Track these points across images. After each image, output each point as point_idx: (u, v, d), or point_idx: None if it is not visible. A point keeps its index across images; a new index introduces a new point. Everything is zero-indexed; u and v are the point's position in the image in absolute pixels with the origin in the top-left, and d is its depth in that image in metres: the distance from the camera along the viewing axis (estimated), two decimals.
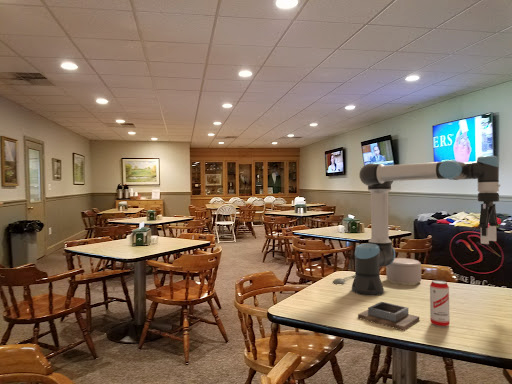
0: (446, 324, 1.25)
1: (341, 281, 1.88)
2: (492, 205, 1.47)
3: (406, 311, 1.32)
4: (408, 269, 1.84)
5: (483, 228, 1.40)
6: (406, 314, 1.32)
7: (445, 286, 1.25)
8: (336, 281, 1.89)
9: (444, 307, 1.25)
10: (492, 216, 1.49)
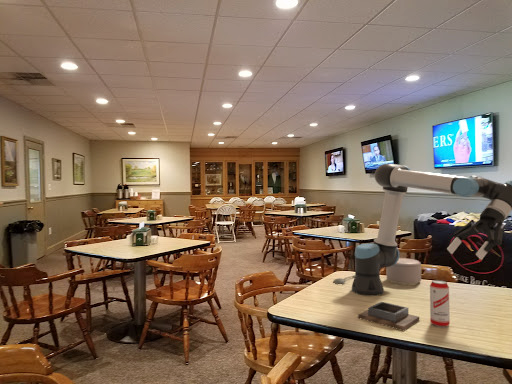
0: (446, 324, 1.25)
1: (341, 281, 1.88)
2: None
3: (406, 311, 1.32)
4: (408, 269, 1.84)
5: (492, 244, 1.23)
6: (406, 314, 1.32)
7: (445, 286, 1.25)
8: (336, 281, 1.89)
9: (444, 307, 1.25)
10: (472, 233, 1.36)
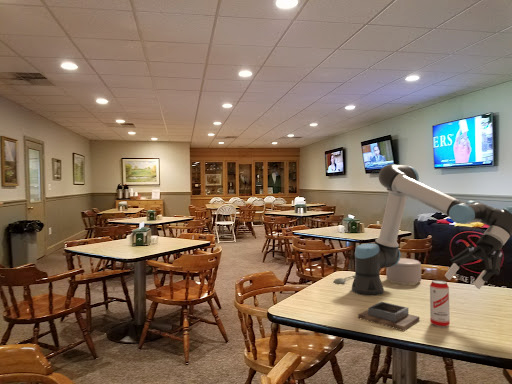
0: (446, 324, 1.25)
1: (342, 281, 1.88)
2: None
3: (406, 311, 1.32)
4: (408, 269, 1.84)
5: (490, 273, 1.22)
6: (406, 314, 1.32)
7: (445, 286, 1.25)
8: (337, 281, 1.89)
9: (444, 307, 1.25)
10: (470, 259, 1.35)
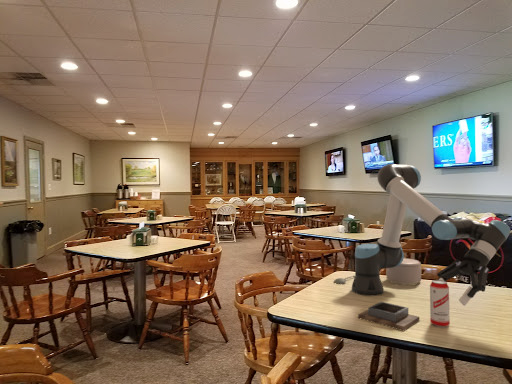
0: (446, 324, 1.25)
1: (342, 281, 1.88)
2: None
3: (406, 311, 1.32)
4: (408, 269, 1.84)
5: (476, 290, 1.20)
6: (406, 314, 1.32)
7: (445, 286, 1.25)
8: (337, 281, 1.89)
9: (444, 307, 1.25)
10: (456, 274, 1.33)
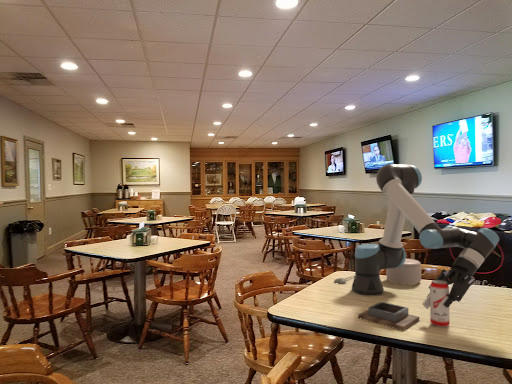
0: (446, 324, 1.25)
1: (342, 281, 1.89)
2: None
3: (406, 311, 1.32)
4: (408, 269, 1.84)
5: (451, 300, 1.23)
6: (406, 314, 1.32)
7: (445, 286, 1.25)
8: (337, 281, 1.90)
9: None
10: (447, 284, 1.31)
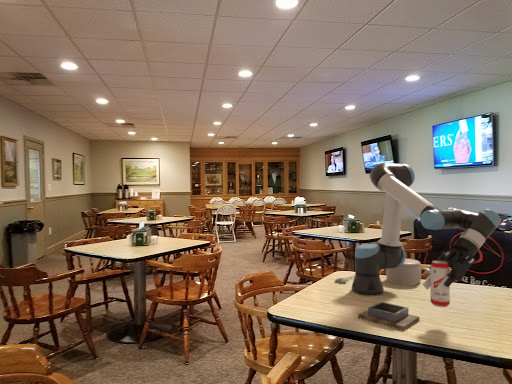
0: (446, 304, 1.25)
1: (343, 281, 1.89)
2: None
3: (406, 311, 1.32)
4: (408, 269, 1.84)
5: (452, 279, 1.23)
6: (406, 314, 1.32)
7: (446, 266, 1.25)
8: (338, 280, 1.90)
9: None
10: None
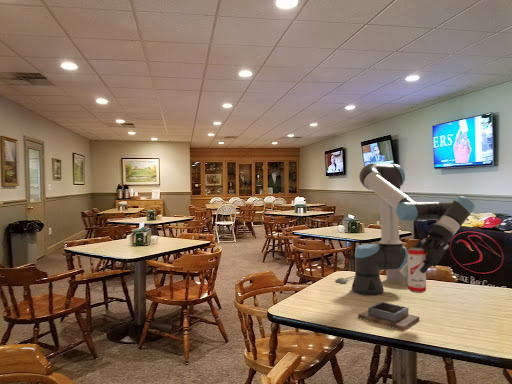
0: (423, 290, 1.27)
1: (343, 280, 1.89)
2: None
3: (406, 311, 1.32)
4: None
5: (428, 265, 1.25)
6: (406, 314, 1.32)
7: (422, 253, 1.27)
8: (338, 280, 1.90)
9: None
10: None
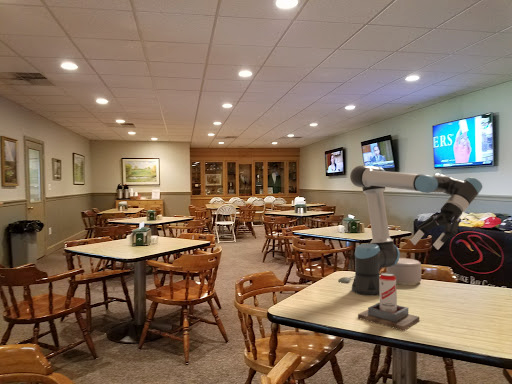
0: None
1: (346, 280, 1.91)
2: None
3: (406, 311, 1.32)
4: (408, 269, 1.84)
5: (448, 235, 1.34)
6: (406, 314, 1.32)
7: (392, 278, 1.31)
8: (341, 280, 1.92)
9: (391, 298, 1.31)
10: (433, 226, 1.47)
